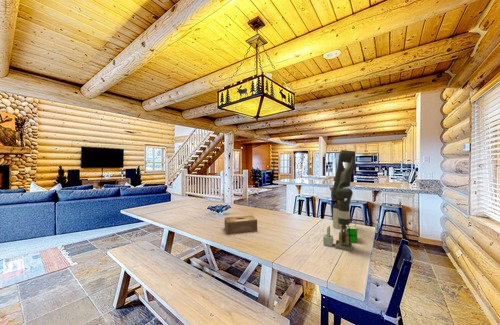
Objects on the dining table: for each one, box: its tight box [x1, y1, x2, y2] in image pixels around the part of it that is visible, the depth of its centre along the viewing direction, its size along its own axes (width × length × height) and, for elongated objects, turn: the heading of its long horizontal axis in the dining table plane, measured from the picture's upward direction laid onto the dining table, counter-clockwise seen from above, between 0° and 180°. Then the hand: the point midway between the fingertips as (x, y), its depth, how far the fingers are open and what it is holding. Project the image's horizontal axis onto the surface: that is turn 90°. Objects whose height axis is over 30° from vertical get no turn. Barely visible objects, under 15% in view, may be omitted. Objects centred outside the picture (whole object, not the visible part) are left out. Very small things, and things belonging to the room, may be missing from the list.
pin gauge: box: [326, 225, 331, 237], centre depth 144 cm, size 2×2×12 cm
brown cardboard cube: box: [338, 231, 349, 245], centre depth 140 cm, size 6×6×6 cm
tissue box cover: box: [224, 214, 258, 235], centre depth 174 cm, size 26×14×10 cm, turn 106°
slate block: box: [322, 233, 334, 248], centre depth 144 cm, size 6×6×6 cm
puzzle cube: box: [339, 224, 358, 244], centre depth 153 cm, size 10×10×10 cm
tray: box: [334, 239, 353, 252], centre depth 140 cm, size 10×10×2 cm
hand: (343, 240), depth 140 cm, fingers closed on brown cardboard cube, 6 cm apart
